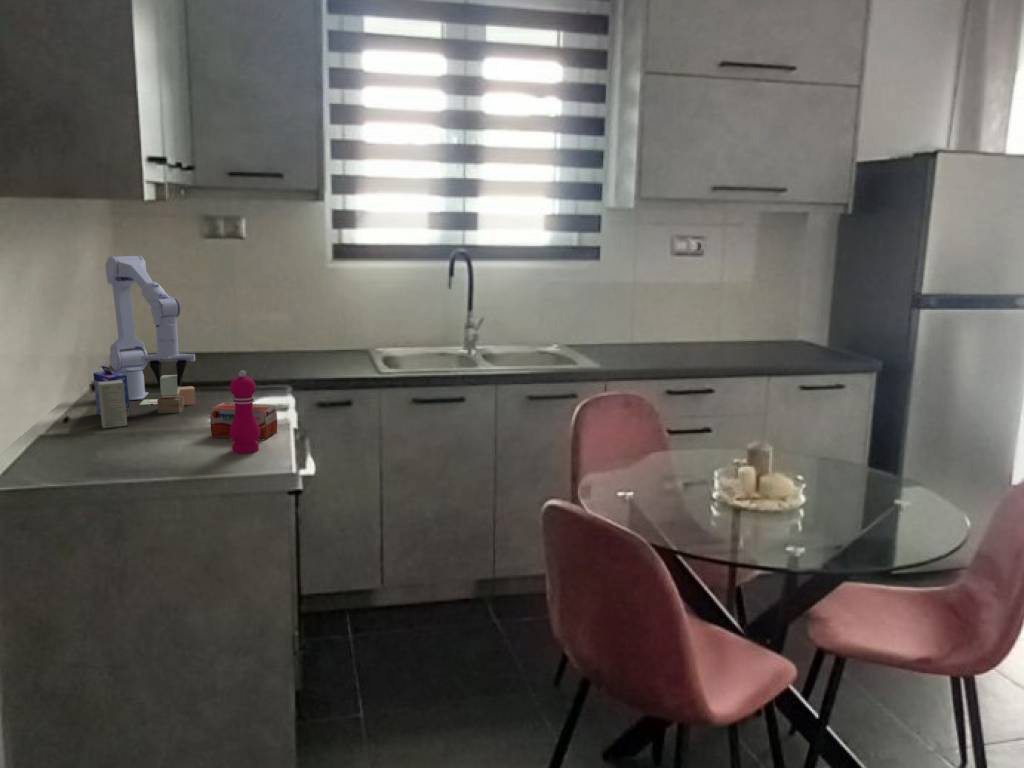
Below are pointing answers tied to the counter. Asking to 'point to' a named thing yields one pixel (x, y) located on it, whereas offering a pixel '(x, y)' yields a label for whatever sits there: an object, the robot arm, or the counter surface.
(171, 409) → the base block
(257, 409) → the medicine box
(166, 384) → the sage block
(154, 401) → the tile
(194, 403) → the clay block
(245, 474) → the counter surface
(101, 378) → the ink cartridge box
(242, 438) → the pepper mill
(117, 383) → the skincare box
